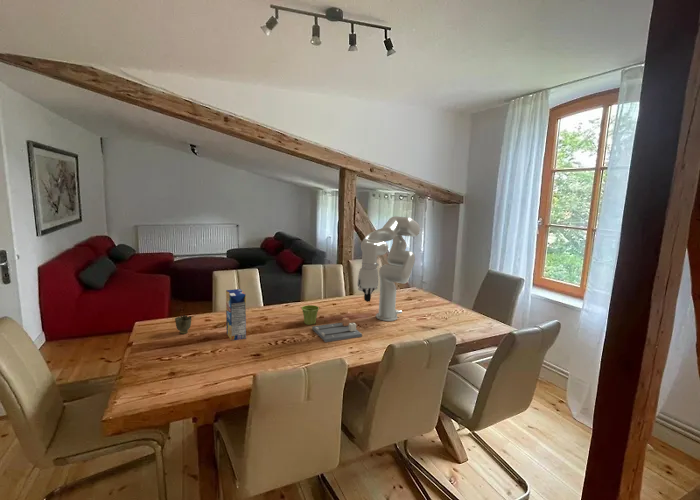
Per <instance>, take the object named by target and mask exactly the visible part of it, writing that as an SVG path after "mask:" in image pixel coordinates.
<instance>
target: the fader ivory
mask: <svg viewBox="0 0 700 500" xmlns="http://www.w3.org/2000/svg"><path fill="white" fill-rule="evenodd" d="M356 329H357V324H356V323H355V322H349V330H350V331H356Z"/></svg>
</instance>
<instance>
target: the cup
mask: <svg viewBox="0 0 700 500" xmlns="http://www.w3.org/2000/svg"><path fill="white" fill-rule="evenodd" d="M174 321H175V327H176V330H177V331H179V334H181V335H185V334H187V333H188V331H189V329H190V328H191V325H192V316H191V315H189V316H188V315H185V314H184V315H180V316H176V317H175V318H174Z"/></svg>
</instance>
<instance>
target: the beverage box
mask: <svg viewBox="0 0 700 500" xmlns="http://www.w3.org/2000/svg"><path fill="white" fill-rule="evenodd" d="M246 296H247V295H246V293H245V292H244V291H243V290H242V289H241V288H236V289H235V288H234V289H226V290H225V304H226V305H225V308H226V309H225V311H226V313H225V314H226V321H225V322H226V324H225V325H226V334H227V336H228V338H229V339H230V341H239V340H240V341H241V340H246V339H247V306H246V305H247V299H246V298H247V297H246Z"/></svg>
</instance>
